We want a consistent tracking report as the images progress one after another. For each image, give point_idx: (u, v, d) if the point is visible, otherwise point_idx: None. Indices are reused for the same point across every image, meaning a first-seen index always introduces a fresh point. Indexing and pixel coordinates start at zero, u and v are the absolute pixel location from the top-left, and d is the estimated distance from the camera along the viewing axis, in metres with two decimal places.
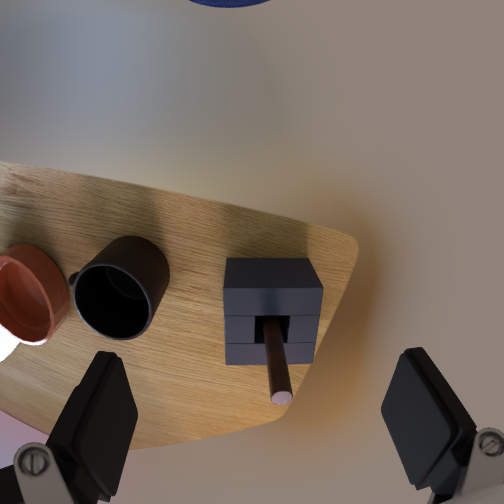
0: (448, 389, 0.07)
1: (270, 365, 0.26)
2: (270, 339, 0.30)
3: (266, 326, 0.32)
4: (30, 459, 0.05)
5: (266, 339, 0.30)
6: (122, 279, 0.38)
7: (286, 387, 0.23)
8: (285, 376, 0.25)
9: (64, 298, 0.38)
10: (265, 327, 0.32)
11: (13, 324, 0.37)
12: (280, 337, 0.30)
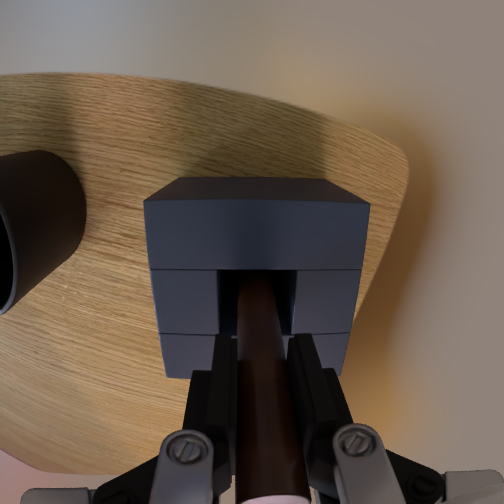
0: (320, 376, 0.08)
1: (242, 395, 0.09)
2: (250, 322, 0.12)
3: (242, 294, 0.14)
4: (181, 448, 0.06)
5: (240, 323, 0.12)
6: None
7: (290, 478, 0.06)
8: (287, 435, 0.07)
9: None
10: (241, 297, 0.14)
11: None
12: (274, 319, 0.12)
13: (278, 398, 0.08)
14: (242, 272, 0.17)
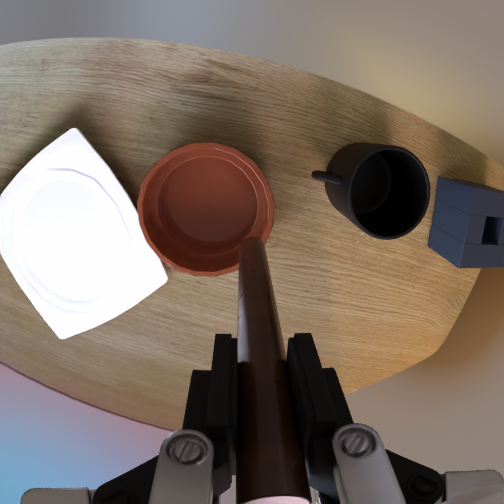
0: (320, 376, 0.08)
1: (243, 396, 0.09)
2: (250, 323, 0.12)
3: (242, 296, 0.14)
4: (181, 448, 0.06)
5: (240, 325, 0.12)
6: None
7: (291, 480, 0.06)
8: (288, 436, 0.07)
9: None
10: (241, 298, 0.14)
11: (171, 252, 0.35)
12: (275, 320, 0.12)
13: (278, 399, 0.08)
14: (242, 273, 0.17)
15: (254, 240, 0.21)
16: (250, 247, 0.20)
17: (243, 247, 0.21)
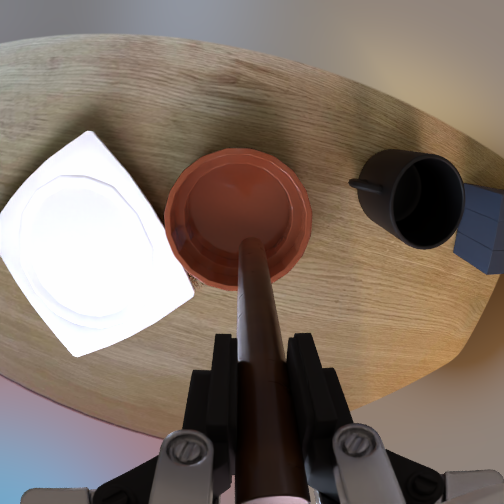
0: (320, 376, 0.08)
1: (242, 397, 0.09)
2: (250, 324, 0.12)
3: (242, 296, 0.14)
4: (180, 448, 0.06)
5: (240, 325, 0.12)
6: None
7: (289, 480, 0.06)
8: (286, 437, 0.07)
9: None
10: (241, 298, 0.14)
11: (199, 265, 0.33)
12: (274, 320, 0.12)
13: (277, 400, 0.08)
14: (242, 273, 0.17)
15: (254, 240, 0.21)
16: (250, 248, 0.20)
17: (243, 247, 0.21)
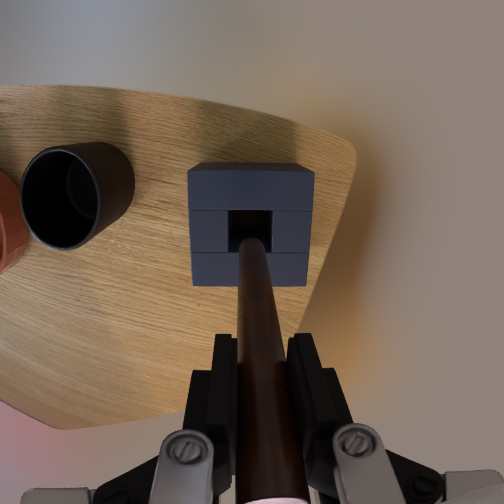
0: (320, 376, 0.08)
1: (242, 398, 0.09)
2: (250, 325, 0.12)
3: (242, 297, 0.14)
4: (180, 448, 0.06)
5: (240, 326, 0.12)
6: (83, 196, 0.31)
7: (290, 481, 0.06)
8: (287, 438, 0.07)
9: (21, 224, 0.31)
10: (241, 300, 0.14)
11: None
12: (274, 321, 0.12)
13: (278, 401, 0.08)
14: (242, 274, 0.17)
15: (254, 241, 0.21)
16: (250, 249, 0.20)
17: (243, 248, 0.21)
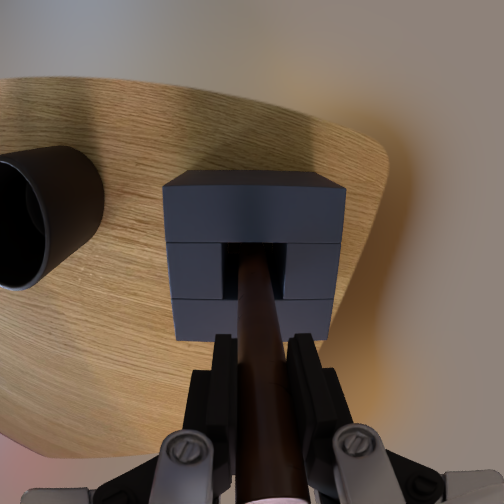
0: (320, 376, 0.08)
1: (242, 398, 0.09)
2: (250, 325, 0.12)
3: (242, 297, 0.14)
4: (180, 448, 0.06)
5: (240, 326, 0.12)
6: None
7: (290, 481, 0.06)
8: (287, 438, 0.07)
9: None
10: (241, 300, 0.14)
11: None
12: (274, 321, 0.12)
13: (278, 401, 0.08)
14: (242, 274, 0.17)
15: None
16: (250, 248, 0.20)
17: (243, 248, 0.21)
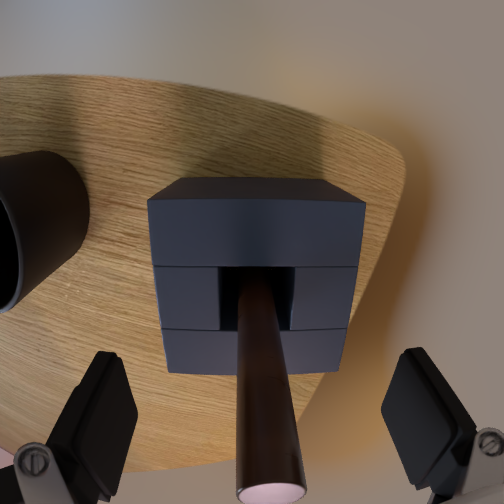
0: (448, 389, 0.07)
1: (243, 391, 0.09)
2: (250, 323, 0.13)
3: (243, 296, 0.15)
4: (30, 459, 0.05)
5: (240, 324, 0.13)
6: None
7: (287, 468, 0.06)
8: (284, 428, 0.08)
9: None
10: (241, 299, 0.15)
11: None
12: (273, 320, 0.13)
13: (276, 394, 0.09)
14: (242, 275, 0.17)
15: None
16: None
17: None
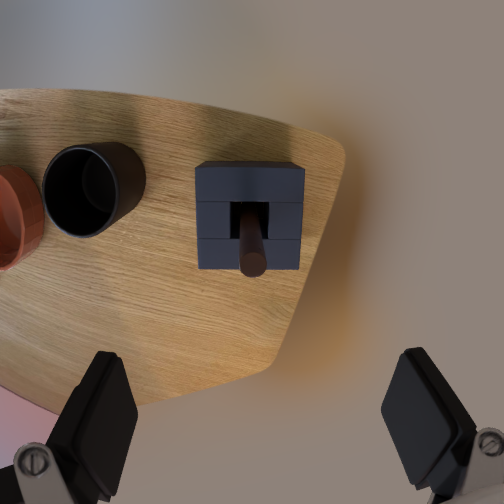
0: (448, 389, 0.07)
1: (242, 239, 0.23)
2: (246, 223, 0.27)
3: (242, 217, 0.29)
4: (30, 459, 0.05)
5: (241, 225, 0.27)
6: (97, 190, 0.35)
7: (258, 251, 0.20)
8: (258, 244, 0.22)
9: (38, 216, 0.34)
10: (242, 218, 0.29)
11: None
12: (257, 223, 0.27)
13: (256, 237, 0.23)
14: (242, 211, 0.32)
15: None
16: (247, 202, 0.35)
17: (243, 203, 0.35)
